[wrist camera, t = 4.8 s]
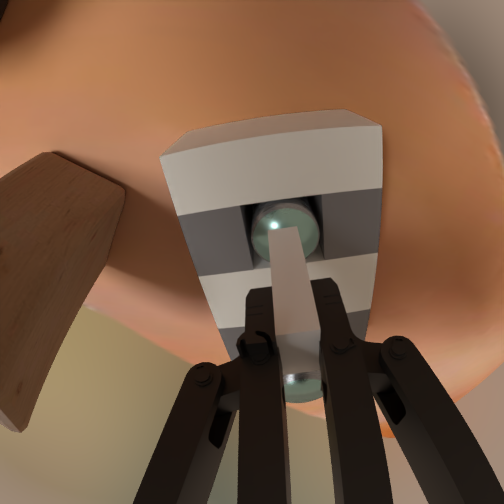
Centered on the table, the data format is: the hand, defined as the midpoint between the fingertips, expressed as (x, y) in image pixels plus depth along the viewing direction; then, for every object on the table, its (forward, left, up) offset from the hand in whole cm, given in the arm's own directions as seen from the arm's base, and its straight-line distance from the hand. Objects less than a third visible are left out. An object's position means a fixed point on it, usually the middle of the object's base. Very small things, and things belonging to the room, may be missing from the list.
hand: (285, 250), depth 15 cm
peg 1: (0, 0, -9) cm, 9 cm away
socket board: (+5, 0, -9) cm, 11 cm away
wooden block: (-2, -19, -9) cm, 21 cm away
